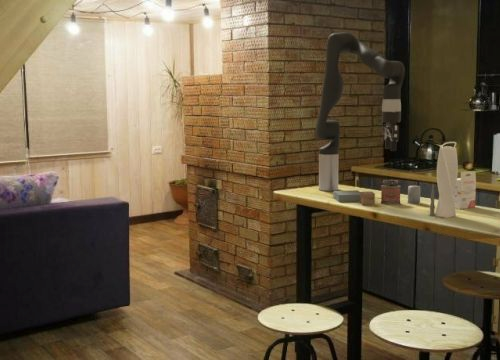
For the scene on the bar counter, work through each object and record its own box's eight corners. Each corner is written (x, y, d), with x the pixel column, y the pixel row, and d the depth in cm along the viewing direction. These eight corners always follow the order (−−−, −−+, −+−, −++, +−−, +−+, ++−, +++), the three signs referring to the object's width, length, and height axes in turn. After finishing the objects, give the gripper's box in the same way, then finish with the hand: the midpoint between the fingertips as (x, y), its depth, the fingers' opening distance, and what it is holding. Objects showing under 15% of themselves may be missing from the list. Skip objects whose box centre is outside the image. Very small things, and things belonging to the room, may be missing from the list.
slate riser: (333, 197, 272) (333, 190, 272) (357, 196, 273) (357, 190, 272) (338, 201, 261) (338, 194, 261) (364, 201, 262) (364, 194, 262)
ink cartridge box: (465, 205, 251) (467, 169, 248) (475, 207, 246) (477, 170, 244) (450, 207, 247) (451, 171, 245) (459, 209, 242) (461, 172, 240)
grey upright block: (406, 202, 259) (406, 185, 258) (417, 201, 260) (418, 185, 259) (410, 204, 254) (410, 187, 253) (421, 203, 255) (422, 187, 254)
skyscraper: (443, 213, 235) (445, 140, 231) (460, 217, 229) (463, 142, 225) (428, 216, 231) (430, 142, 227) (446, 219, 224) (448, 143, 220)
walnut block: (359, 203, 258) (359, 191, 257) (371, 203, 258) (371, 191, 257) (362, 205, 253) (362, 193, 252) (374, 205, 253) (374, 193, 253)
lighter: (399, 202, 258) (400, 179, 256) (400, 204, 254) (401, 180, 253) (380, 202, 258) (380, 179, 257) (381, 204, 255) (381, 180, 254)
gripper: (377, 110, 257) (377, 148, 260) (387, 111, 243) (386, 151, 246) (395, 110, 258) (394, 148, 260) (405, 110, 244) (404, 151, 246)
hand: (390, 150), depth 253 cm, fingers open, 8 cm apart
